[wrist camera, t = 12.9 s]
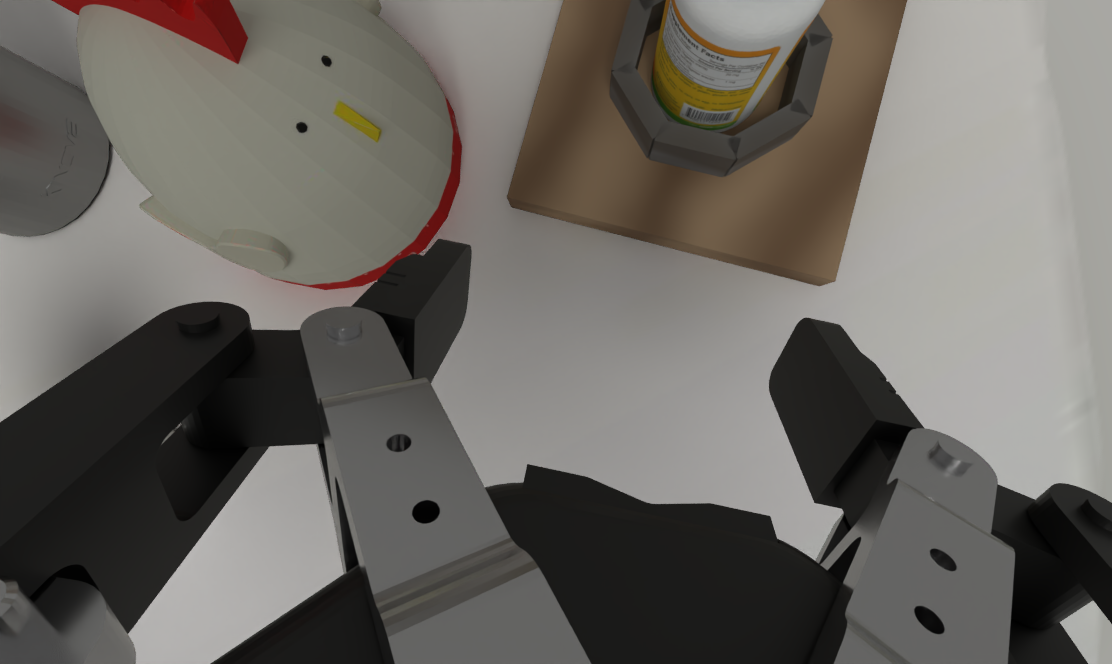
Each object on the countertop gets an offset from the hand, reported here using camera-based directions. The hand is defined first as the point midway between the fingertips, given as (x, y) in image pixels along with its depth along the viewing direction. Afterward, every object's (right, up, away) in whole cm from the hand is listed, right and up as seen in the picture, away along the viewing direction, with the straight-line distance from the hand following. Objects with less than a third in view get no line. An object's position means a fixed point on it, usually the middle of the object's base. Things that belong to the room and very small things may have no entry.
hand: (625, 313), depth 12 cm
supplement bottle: (+6, +12, +12) cm, 17 cm away
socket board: (+6, +12, +13) cm, 18 cm away
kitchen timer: (-14, +9, +14) cm, 22 cm away
